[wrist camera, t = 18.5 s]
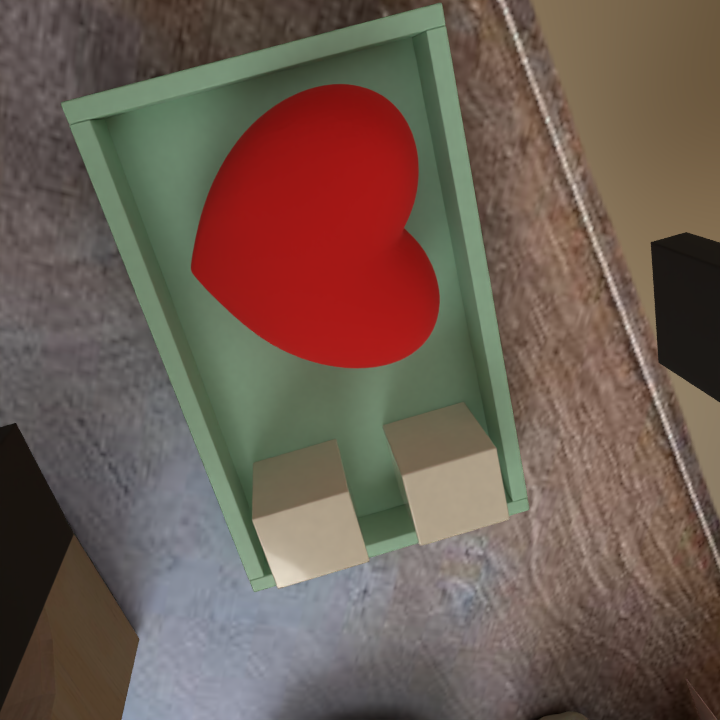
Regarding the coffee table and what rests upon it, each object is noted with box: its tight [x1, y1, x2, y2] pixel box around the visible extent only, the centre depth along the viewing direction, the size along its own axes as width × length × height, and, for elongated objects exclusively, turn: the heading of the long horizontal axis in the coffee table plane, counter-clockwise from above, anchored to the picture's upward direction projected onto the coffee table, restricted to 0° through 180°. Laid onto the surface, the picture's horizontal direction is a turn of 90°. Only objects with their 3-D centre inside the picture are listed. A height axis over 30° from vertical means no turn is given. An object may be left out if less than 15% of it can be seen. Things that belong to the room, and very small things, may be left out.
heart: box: [191, 84, 440, 368], centre depth 27 cm, size 12×5×10 cm
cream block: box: [252, 439, 369, 589], centre depth 32 cm, size 4×4×5 cm
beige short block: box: [382, 402, 509, 546], centre depth 32 cm, size 4×4×5 cm
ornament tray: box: [61, 3, 529, 592], centre depth 30 cm, size 24×15×3 cm, turn 14°
